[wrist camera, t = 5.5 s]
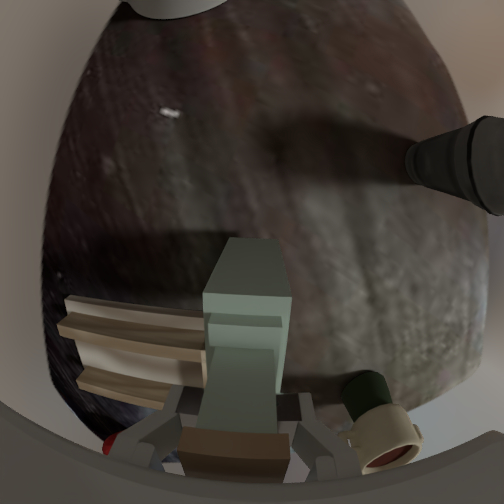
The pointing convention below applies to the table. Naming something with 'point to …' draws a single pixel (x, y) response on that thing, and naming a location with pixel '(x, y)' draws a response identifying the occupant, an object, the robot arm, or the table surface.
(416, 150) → the beverage cup
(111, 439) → the strawberry
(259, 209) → the table surface
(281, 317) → the pale green flat bottle
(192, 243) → the table surface
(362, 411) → the character mug
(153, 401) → the u rest
